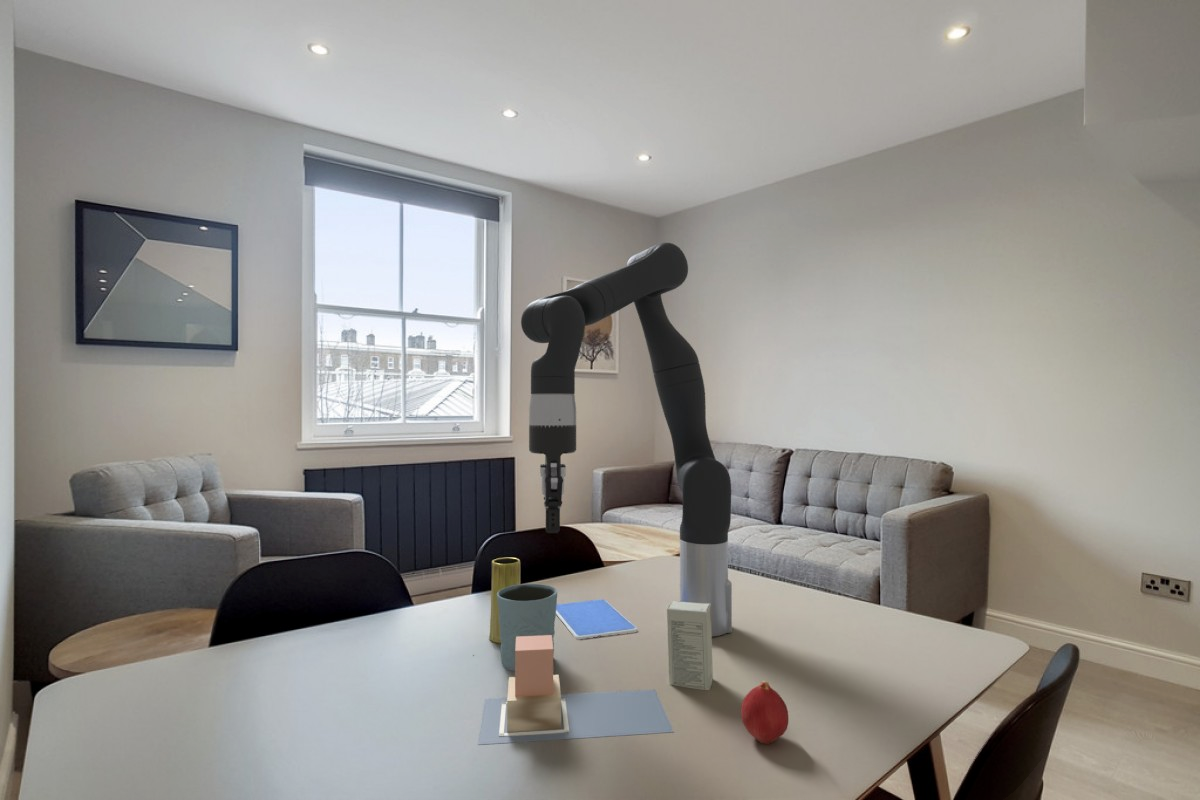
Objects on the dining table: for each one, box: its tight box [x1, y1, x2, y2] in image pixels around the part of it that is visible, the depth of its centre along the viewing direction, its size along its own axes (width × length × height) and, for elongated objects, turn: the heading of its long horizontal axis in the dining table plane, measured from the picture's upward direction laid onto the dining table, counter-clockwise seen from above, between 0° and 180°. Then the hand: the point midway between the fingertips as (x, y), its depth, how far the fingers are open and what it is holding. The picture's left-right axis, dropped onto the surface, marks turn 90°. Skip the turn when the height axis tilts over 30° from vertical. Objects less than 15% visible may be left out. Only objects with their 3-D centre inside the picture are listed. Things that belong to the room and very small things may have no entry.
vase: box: [488, 556, 521, 644], centre depth 112 cm, size 6×6×14 cm
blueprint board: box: [477, 688, 675, 746], centre depth 82 cm, size 25×12×1 cm, turn 97°
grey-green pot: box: [497, 583, 558, 672], centre depth 100 cm, size 10×10×12 cm
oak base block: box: [506, 674, 562, 732], centre depth 81 cm, size 7×7×4 cm
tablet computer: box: [556, 598, 639, 640], centre depth 121 cm, size 19×13×1 cm, turn 19°
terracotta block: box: [514, 635, 554, 697], centre depth 82 cm, size 5×5×6 cm
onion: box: [740, 680, 789, 745], centre depth 76 cm, size 6×6×8 cm
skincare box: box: [666, 600, 714, 691], centre depth 92 cm, size 6×4×12 cm
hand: (552, 531), depth 95 cm, fingers closed
